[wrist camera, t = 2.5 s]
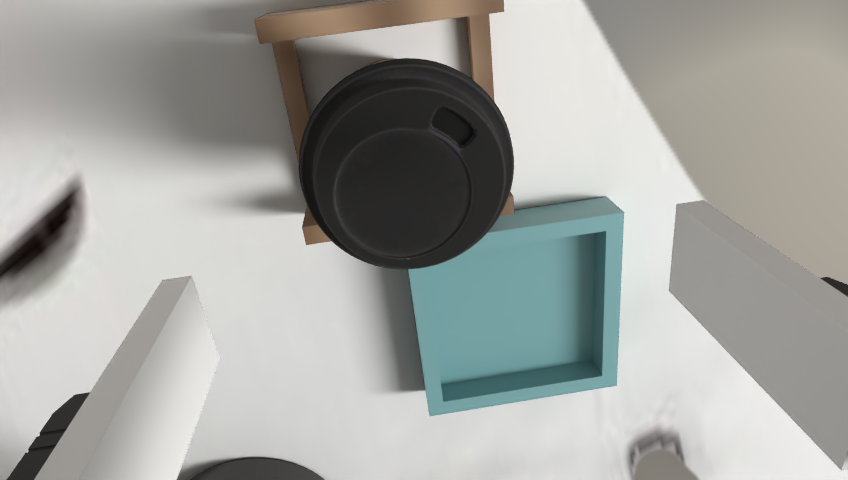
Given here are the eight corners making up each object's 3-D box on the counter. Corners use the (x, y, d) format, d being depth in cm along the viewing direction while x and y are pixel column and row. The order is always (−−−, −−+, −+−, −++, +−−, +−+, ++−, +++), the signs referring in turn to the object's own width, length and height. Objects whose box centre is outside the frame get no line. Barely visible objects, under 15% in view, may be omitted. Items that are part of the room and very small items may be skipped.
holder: (312, 213, 39) (306, 245, 35) (268, 13, 33) (254, 19, 29) (496, 186, 40) (514, 213, 35) (483, -15, 34) (502, -13, 30)
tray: (425, 390, 47) (429, 416, 44) (401, 227, 40) (404, 245, 38) (601, 362, 47) (616, 385, 45) (606, 196, 41) (623, 212, 38)
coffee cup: (475, 41, 35) (547, 82, 22) (451, 183, 39) (500, 292, 26) (323, 19, 34) (300, 49, 20) (313, 169, 38) (288, 277, 24)
